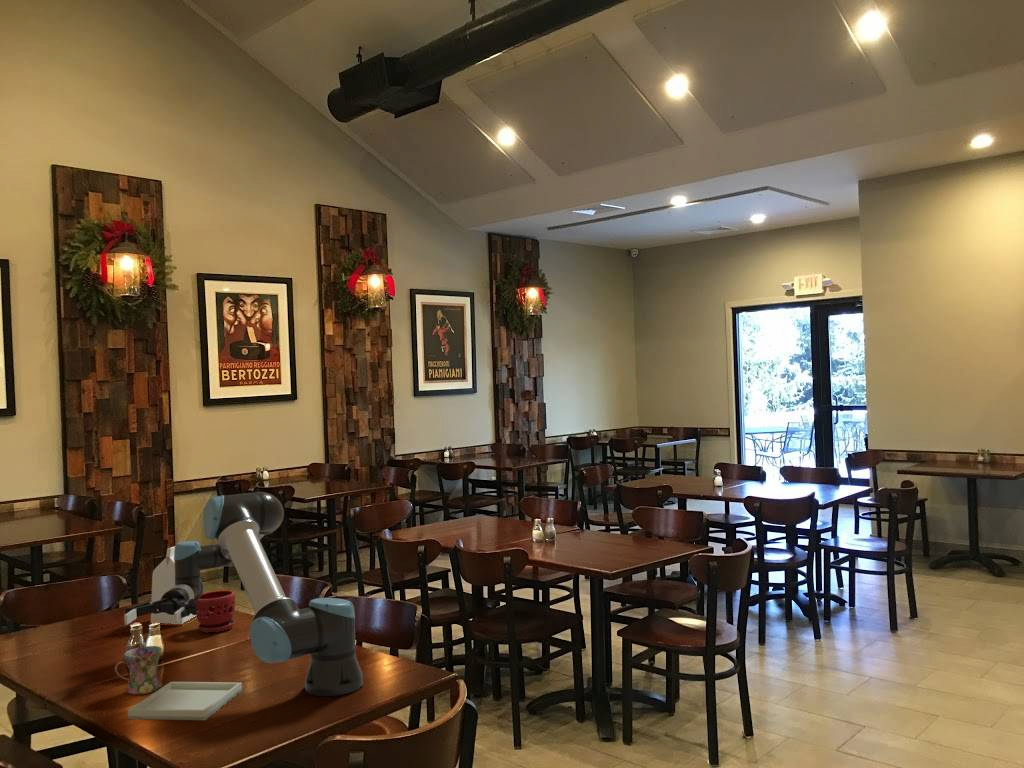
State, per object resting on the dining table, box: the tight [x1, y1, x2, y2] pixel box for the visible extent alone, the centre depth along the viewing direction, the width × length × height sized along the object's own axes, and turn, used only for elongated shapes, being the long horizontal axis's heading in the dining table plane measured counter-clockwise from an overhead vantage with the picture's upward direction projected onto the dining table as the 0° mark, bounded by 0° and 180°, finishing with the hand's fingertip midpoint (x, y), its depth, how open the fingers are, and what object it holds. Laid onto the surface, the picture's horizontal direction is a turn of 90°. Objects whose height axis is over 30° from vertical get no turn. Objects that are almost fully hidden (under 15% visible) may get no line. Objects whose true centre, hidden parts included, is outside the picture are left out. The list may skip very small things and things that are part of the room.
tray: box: [127, 681, 243, 721], centre depth 214 cm, size 20×20×2 cm
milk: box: [150, 545, 196, 624], centre depth 296 cm, size 12×12×26 cm
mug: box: [114, 645, 163, 695], centre depth 224 cm, size 12×9×11 cm
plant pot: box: [194, 589, 236, 633], centre depth 284 cm, size 13×13×12 cm
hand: (150, 619), depth 234 cm, fingers open, 13 cm apart
